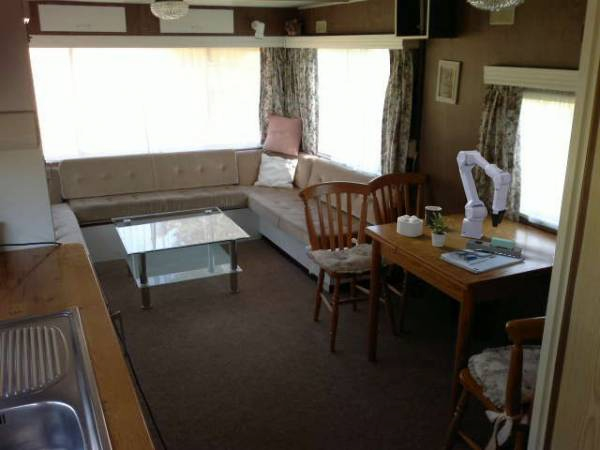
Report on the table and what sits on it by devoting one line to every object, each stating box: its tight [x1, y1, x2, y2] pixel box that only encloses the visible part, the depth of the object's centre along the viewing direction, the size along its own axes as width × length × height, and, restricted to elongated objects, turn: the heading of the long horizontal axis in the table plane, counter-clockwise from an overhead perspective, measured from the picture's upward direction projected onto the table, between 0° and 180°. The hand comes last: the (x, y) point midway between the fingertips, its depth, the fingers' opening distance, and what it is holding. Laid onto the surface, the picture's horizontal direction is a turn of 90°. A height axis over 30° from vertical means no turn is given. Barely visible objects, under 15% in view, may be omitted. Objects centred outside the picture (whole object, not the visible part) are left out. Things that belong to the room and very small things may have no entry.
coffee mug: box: [424, 205, 442, 229], centre depth 295 cm, size 12×9×10 cm
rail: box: [465, 238, 523, 259], centre depth 258 cm, size 24×6×3 cm, turn 59°
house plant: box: [427, 212, 454, 248], centre depth 264 cm, size 14×14×16 cm
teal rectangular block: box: [490, 237, 516, 250], centre depth 256 cm, size 10×3×5 cm, turn 59°
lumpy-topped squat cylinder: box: [396, 214, 424, 238], centre depth 283 cm, size 10×13×9 cm
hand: (496, 225), depth 266 cm, fingers open, 7 cm apart
